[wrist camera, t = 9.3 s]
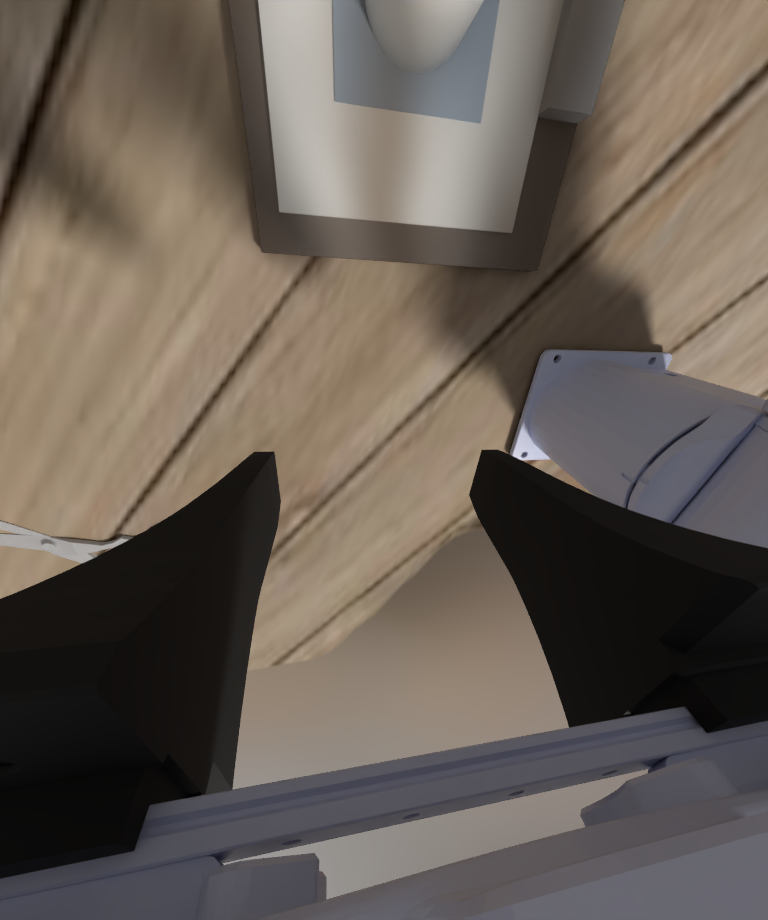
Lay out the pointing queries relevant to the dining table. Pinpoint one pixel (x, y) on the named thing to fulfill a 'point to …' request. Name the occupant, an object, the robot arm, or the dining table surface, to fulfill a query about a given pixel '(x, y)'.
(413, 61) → the marker
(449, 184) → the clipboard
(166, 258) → the dining table surface
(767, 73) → the dining table surface
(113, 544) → the scissors
